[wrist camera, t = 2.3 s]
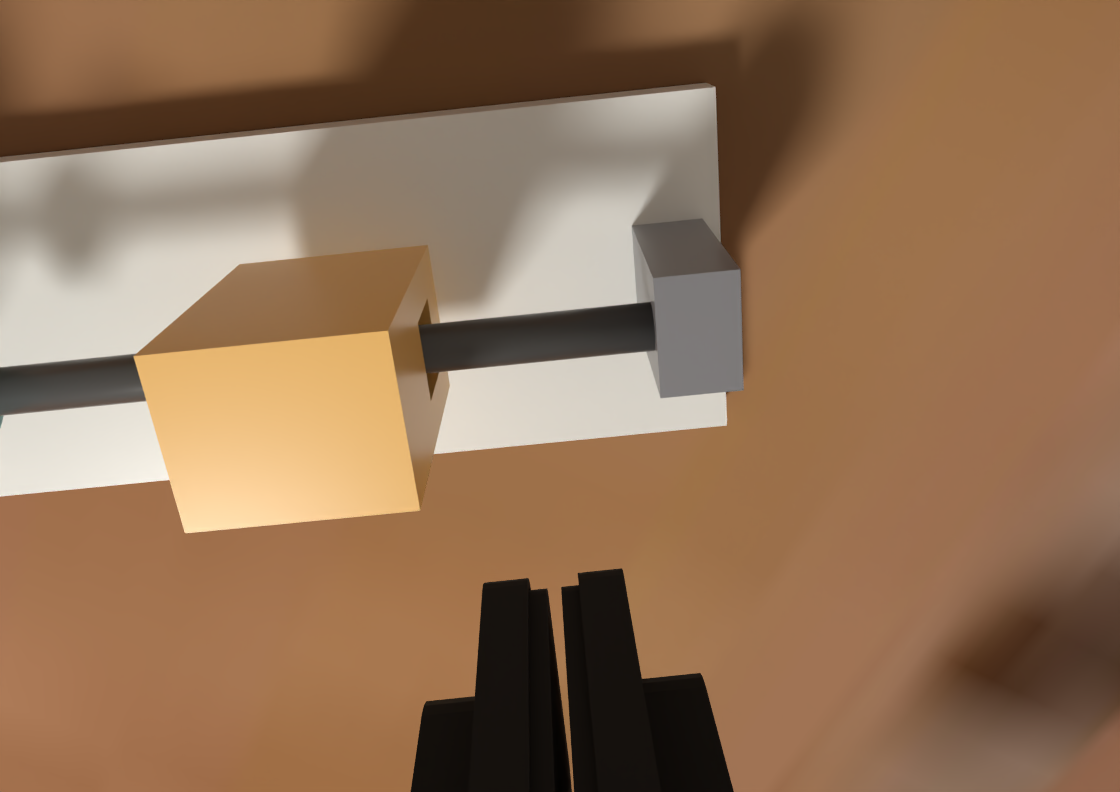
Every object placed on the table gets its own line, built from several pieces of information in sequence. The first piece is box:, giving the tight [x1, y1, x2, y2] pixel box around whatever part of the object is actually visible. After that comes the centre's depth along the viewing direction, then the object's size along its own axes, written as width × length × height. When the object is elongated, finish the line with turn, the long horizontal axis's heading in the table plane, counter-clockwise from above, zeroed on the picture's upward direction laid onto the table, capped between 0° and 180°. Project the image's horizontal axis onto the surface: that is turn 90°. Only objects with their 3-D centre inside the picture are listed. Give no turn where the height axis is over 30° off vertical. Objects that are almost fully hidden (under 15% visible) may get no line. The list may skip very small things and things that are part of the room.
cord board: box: [0, 83, 743, 496], centre depth 25 cm, size 27×10×9 cm, turn 96°
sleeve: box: [133, 245, 450, 533], centre depth 22 cm, size 5×4×7 cm
